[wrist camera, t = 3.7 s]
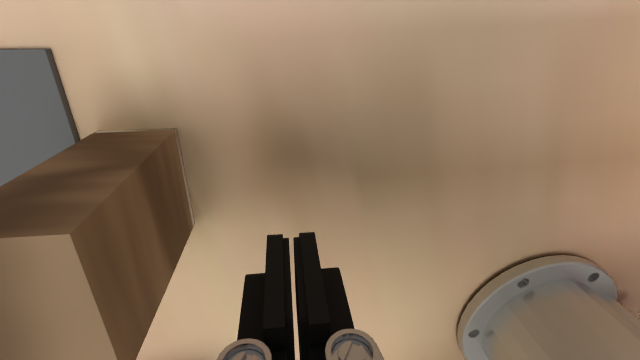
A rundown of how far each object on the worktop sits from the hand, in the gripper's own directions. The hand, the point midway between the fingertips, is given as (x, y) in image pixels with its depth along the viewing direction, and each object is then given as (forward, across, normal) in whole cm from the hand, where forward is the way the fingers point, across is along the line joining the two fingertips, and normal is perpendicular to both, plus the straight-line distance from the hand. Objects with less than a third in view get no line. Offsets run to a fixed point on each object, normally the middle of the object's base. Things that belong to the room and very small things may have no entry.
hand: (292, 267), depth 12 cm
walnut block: (+8, +8, 0) cm, 11 cm away
